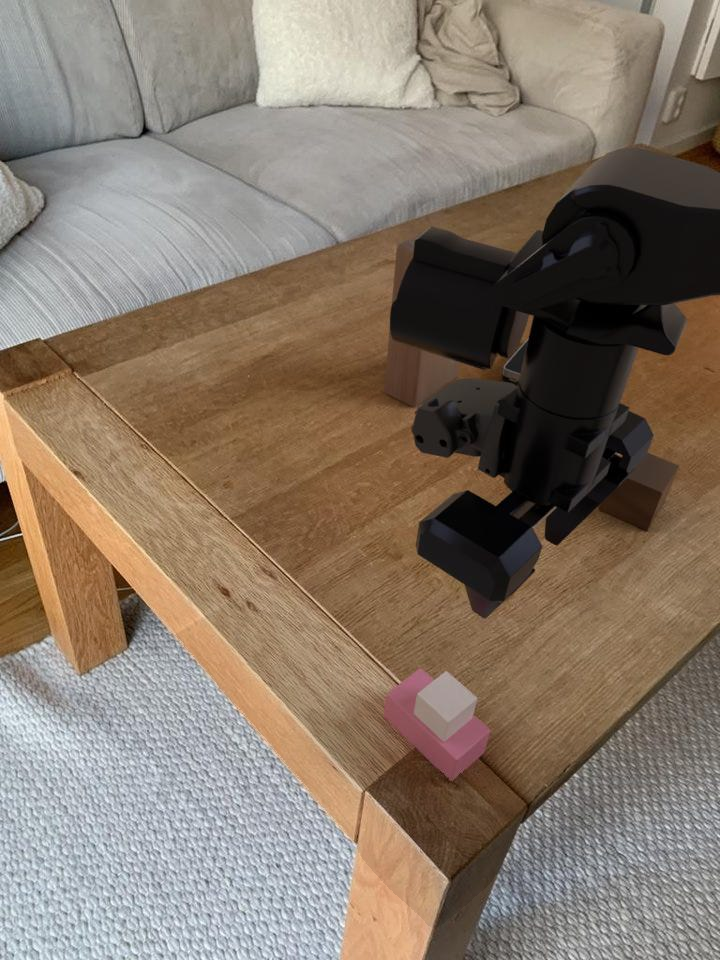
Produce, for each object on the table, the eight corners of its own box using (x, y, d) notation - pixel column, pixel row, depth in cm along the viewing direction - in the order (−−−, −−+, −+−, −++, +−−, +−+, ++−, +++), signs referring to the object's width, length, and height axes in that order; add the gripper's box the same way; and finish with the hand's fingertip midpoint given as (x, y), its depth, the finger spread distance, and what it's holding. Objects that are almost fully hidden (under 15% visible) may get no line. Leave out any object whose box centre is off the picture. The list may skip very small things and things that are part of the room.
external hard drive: (499, 382, 96) (501, 368, 95) (533, 342, 104) (536, 328, 102) (554, 402, 94) (558, 387, 92) (586, 359, 101) (589, 345, 100)
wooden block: (428, 362, 99) (446, 218, 87) (459, 376, 97) (482, 231, 85) (382, 393, 93) (395, 244, 82) (414, 409, 91) (431, 259, 80)
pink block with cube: (484, 752, 60) (497, 709, 56) (451, 782, 58) (461, 740, 54) (416, 690, 63) (424, 646, 60) (383, 716, 61) (388, 672, 58)
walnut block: (664, 503, 81) (679, 465, 78) (647, 531, 78) (662, 492, 75) (616, 483, 83) (629, 445, 80) (598, 509, 80) (611, 471, 77)
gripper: (534, 284, 55) (495, 461, 66) (353, 397, 44) (340, 588, 55) (689, 348, 50) (620, 529, 61) (528, 494, 39) (477, 685, 49)
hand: (517, 575), depth 56 cm, fingers open, 9 cm apart
